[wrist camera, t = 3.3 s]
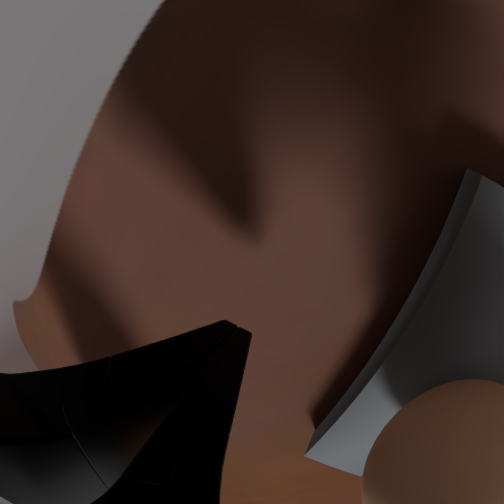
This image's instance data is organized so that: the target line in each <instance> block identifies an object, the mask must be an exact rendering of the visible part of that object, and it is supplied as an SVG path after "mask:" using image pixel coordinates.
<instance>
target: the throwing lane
mask: <svg viewBox="0 0 504 504" xmlns="http://www.w3.org/2000/svg"><path fill="white" fill-rule="evenodd" d="M463 379H483V380H490V381H494V382H497V383H500V384H502V385H504V188H503V187H502V186H500V185H498V184H497V183H495V182H493V181H492V180H490V179H488V178H486V177H485V176H483V175H481V174H479V173H477V172H474V171H472V170H470V169H468V168H467V169H466V172H465V175H464V177H463V180H462V183H461V186H460V188H459V191H458V193H457V196H456V198H455V201H454V203H453V206H452V208H451V211H450V213H449V216H448V218H447V220H446V222H445V225H444V227H443V229H442V231H441V234H440V236H439V238H438V240H437V242H436V244H435V247H434V249H433V251H432V253H431V255H430V257H429V259H428V261H427V263H426V265H425V267H424V269H423V271H422V273H421V275H420V276H419V278H418V280H417V282H416V284H415V286H414V288H413V289H412V291H411V293H410V295H409V297H408V298H407V300H406V302H405V304H404V305H403V307H402V309H401V310H400V312H399V314H398V316H397V317H396V319H395V320H394V322H393V324H392V325H391V327H390V329H389V330H388V332H387V333H386V335H385V337H384V338H383V340H382V341H381V343H380V344H379V346H378V347H377V349H376V350H375V352H374V353H373V355H372V356H371V358H370V359H369V361H368V362H367V364H366V365H365V366H364V368H363V369H362V371H361V372H360V373H359V375H358V376H357V378H356V379H355V380H354V382H353V383H352V384H351V386H350V387H349V388H348V390H347V391H346V392H345V394H344V395H343V396H342V398H341V399H340V400H339V402H338V403H337V404H336V405H335V407H334V408H333V409H332V410H331V412H330V413H329V414H328V415H327V417H326V418H325V419H324V420H323V421H322V423H321V424H320V425H319V426H318V427H317V428H316V430H315V431H314V433H313V436H312V438H311V441H310V443H309V445H308V448H307V450H306V452H305V455H304V456H306V457H308V458H311V459H313V460H316V461H318V462H321V463H324V464H326V465H329V466H332V467H334V468H337V469H340V470H343V471H346V472H349V473H352V474H355V475H358V476H361V477H362V476H363V471H364V466H365V463H366V460H367V457H368V454H369V452H370V450H371V448H372V446H373V444H374V442H375V440H376V439H377V437H378V436H379V434H380V433H381V431H382V430H383V428H384V427H385V426H386V424H387V423H388V422H389V421H390V420H391V419H392V418H393V416H394V415H395V414H396V413H397V412H398V411H400V410H401V409H402V408H403V407H404V406H405V405H406V404H408V403H409V402H410V401H412V400H413V399H414V398H416V397H418V396H419V395H421V394H423V393H425V392H426V391H428V390H430V389H432V388H434V387H437V386H439V385H442V384H445V383H448V382H452V381H457V380H463Z"/></svg>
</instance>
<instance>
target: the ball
mask: <svg viewBox="0 0 504 504" xmlns="http://www.w3.org/2000/svg"><path fill="white" fill-rule="evenodd" d="M361 493H362V502H363V504H504V385H502V384H500V383H497V382H494V381H490V380H483V379H463V380H457V381H452V382H448V383H445V384H442V385H439V386H437V387H434V388H432V389H430V390H428V391H426V392H425V393H423V394H421V395H419V396H418V397H416V398H414V399H413V400H412V401H410V402H409V403H408V404H406V405H405V406H404V407H403V408H402V409H401V410H400V411H398V412H397V413H396V414H395V415H394V416H393V418H392V419H391V420H390V421H389V422H388V423H387V424H386V426H385V427H384V428H383V430H382V431H381V433H380V434H379V436H378V437H377V439H376V440H375V442H374V444H373V446H372V448H371V450H370V452H369V454H368V457H367V460H366V463H365V466H364V471H363V476H362V485H361Z"/></svg>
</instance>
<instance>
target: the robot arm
mask: <svg viewBox="0 0 504 504" xmlns="http://www.w3.org/2000/svg"><path fill="white" fill-rule="evenodd" d="M251 338H252V333H251V332H249V331H247V330H245V329H243V328H241V327H239V328H238V327H237V325H235V324H233V323H231V322H229V321H227V320H221V321H218V322H215V323H213V324H210V325H207V326H204V327H201V328H198V329H195V330H192V331H189V332H186V333H183V334H180V335H177V336H174V337H171V338H168V339H165V340H161V341H158V342H155V343H152V344H149V345H146V346H142V347H139V348H136V349H133V350H129V351H126V352H123V353H119V354H116V355H112V356H111V357H105V358H102V359H98V360H94V361H90V362H86V363H82V364H78V365H73V366H67V367H62V368H56V369H48V370H41V371H34V372H25V373H15V374H7V373H0V504H220V490H221V480H222V471H223V464H224V459H225V454H226V449H227V445H228V440H229V434H230V431H231V427H232V423H233V418H234V414H235V410H236V405H237V401H238V396H239V392H240V388H241V383H242V379H243V374H244V370H245V365H246V361H247V356H248V352H249V347H250V342H251Z"/></svg>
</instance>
